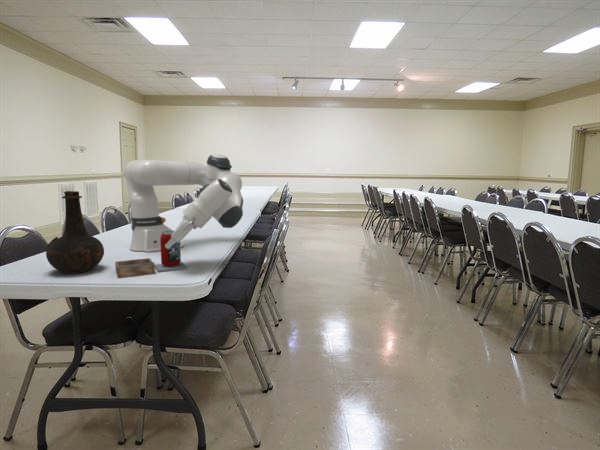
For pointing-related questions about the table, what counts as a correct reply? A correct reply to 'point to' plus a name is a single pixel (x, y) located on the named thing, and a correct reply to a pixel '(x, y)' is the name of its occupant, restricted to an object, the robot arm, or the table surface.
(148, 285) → the table surface
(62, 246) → the glass bottle
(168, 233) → the beverage can
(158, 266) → the rubber mat
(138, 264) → the can cradle
